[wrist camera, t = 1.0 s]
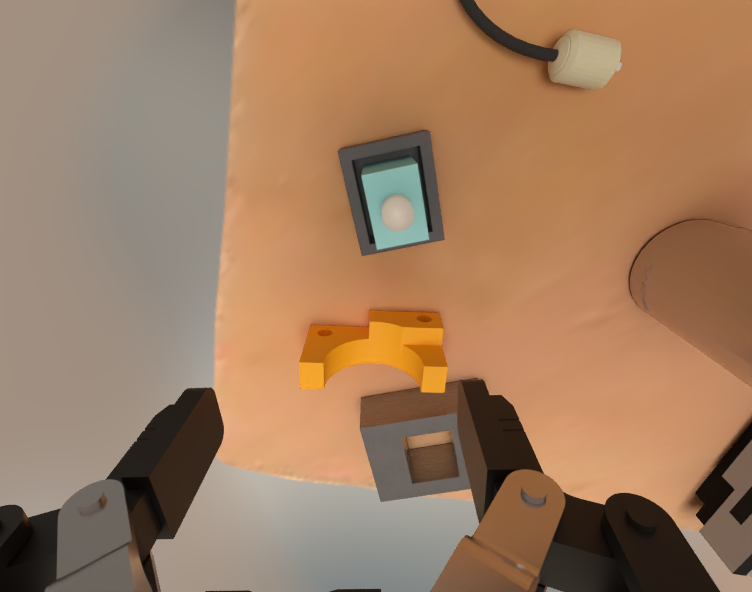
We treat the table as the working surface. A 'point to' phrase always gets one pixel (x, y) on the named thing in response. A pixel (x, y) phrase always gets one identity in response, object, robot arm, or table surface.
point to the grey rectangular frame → (384, 150)
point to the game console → (730, 507)
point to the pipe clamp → (378, 348)
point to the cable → (561, 52)
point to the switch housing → (390, 450)
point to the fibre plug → (395, 201)
